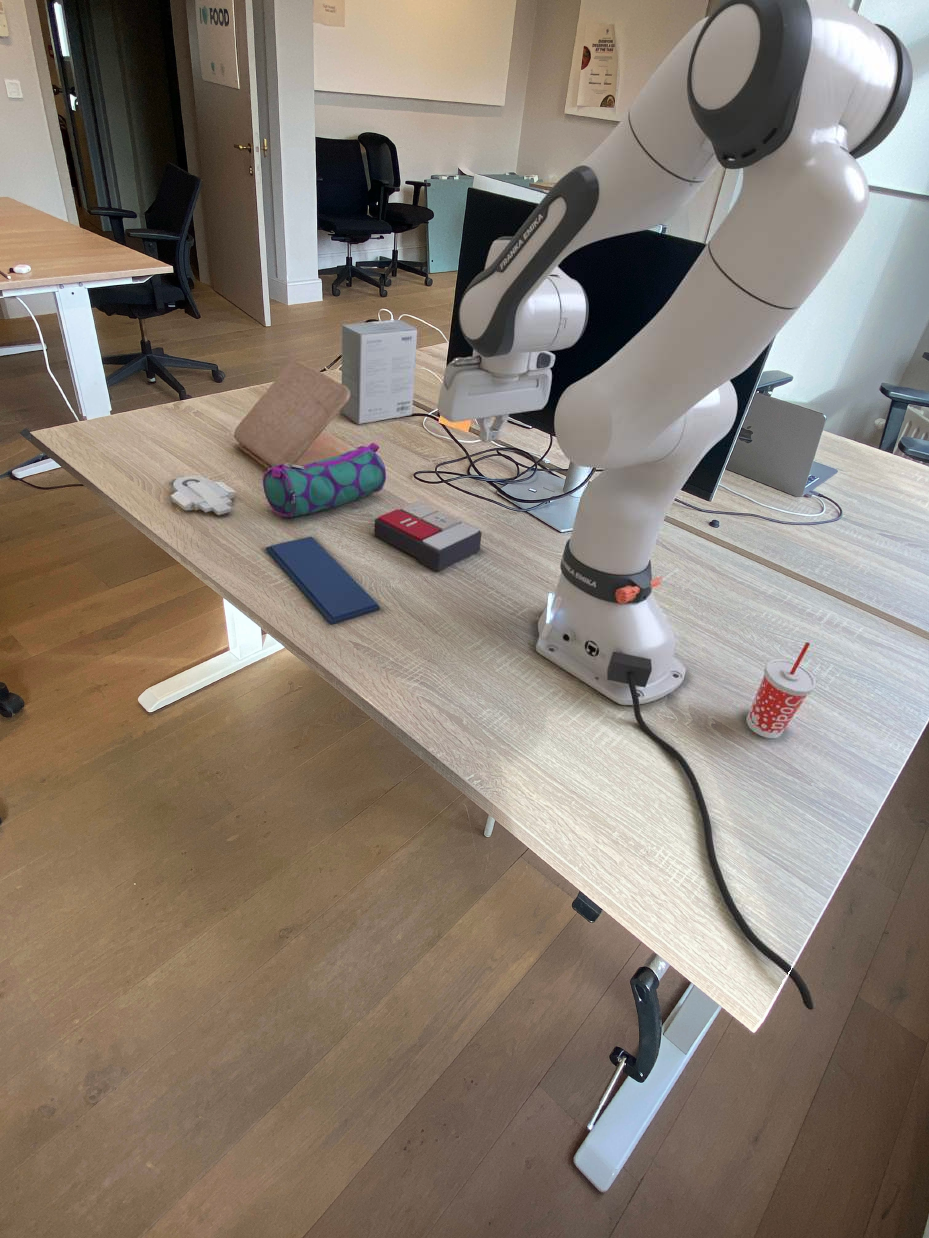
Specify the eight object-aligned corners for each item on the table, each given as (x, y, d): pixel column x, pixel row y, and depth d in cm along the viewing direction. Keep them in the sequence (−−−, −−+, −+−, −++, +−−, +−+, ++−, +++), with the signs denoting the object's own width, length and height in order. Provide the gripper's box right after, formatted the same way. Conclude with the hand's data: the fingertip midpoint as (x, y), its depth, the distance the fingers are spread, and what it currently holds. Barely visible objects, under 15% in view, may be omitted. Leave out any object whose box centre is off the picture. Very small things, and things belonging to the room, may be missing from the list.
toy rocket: (251, 509, 120) (250, 497, 119) (199, 525, 114) (197, 512, 113) (202, 475, 128) (200, 463, 127) (151, 487, 122) (149, 475, 121)
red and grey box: (418, 497, 124) (483, 527, 116) (417, 519, 126) (480, 550, 119) (373, 515, 117) (439, 548, 109) (373, 538, 119) (437, 572, 111)
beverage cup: (743, 736, 90) (787, 653, 81) (737, 705, 94) (777, 623, 86) (791, 747, 89) (840, 664, 81) (782, 714, 94) (827, 633, 86)
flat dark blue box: (379, 609, 102) (380, 604, 101) (330, 624, 98) (330, 619, 97) (311, 539, 115) (311, 534, 115) (265, 549, 111) (265, 545, 110)
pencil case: (291, 530, 117) (290, 477, 111) (262, 508, 121) (260, 456, 116) (387, 500, 130) (390, 451, 124) (358, 481, 134) (359, 434, 128)
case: (230, 446, 140) (223, 365, 130) (319, 429, 152) (320, 354, 142) (283, 487, 128) (280, 402, 119) (375, 465, 141) (379, 387, 131)
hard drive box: (394, 405, 170) (400, 319, 158) (413, 416, 165) (420, 328, 154) (339, 413, 161) (341, 323, 149) (357, 425, 157) (360, 333, 145)
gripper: (459, 365, 99) (448, 456, 107) (563, 355, 110) (546, 439, 118) (434, 352, 102) (425, 441, 111) (537, 344, 113) (522, 425, 122)
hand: (488, 440), depth 114 cm, fingers closed
